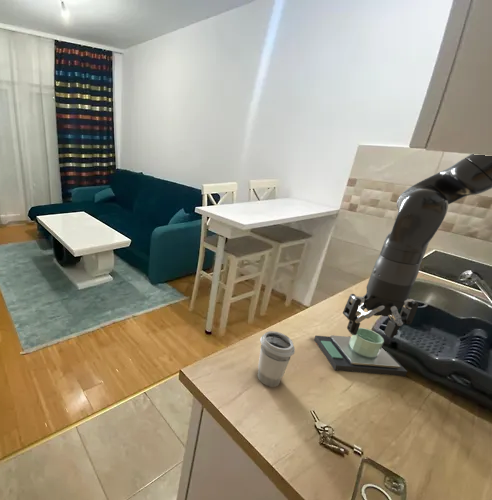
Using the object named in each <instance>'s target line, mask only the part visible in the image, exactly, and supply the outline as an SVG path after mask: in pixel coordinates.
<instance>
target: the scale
mask: <svg viewBox="0 0 492 500" xmlns="http://www.w3.org/2000/svg"><path fill="white" fill-rule="evenodd" d="M313 341H314V343H315V344H316V345H317V347H318V348H319V350H320V351H321V353H322V354H323V355H324V357H325V359H327V361H328V363H329V364H330V365H331V367H332V369H333V370H334V371H339V372H349V373H350V372H351V373H361V374H362V373H363V374H373V375H375V374H376V375H385V376H386V375H387V376H398V377H406V375H407V373H408V370H407V369H406V368H405V367H404V366H403V365H402V364H401V363H400V361H398V360H397V359H396V358H395V357H394V356H393V355H392V354H391V353H390V352H389V351H388V350H387V351H388V352H387V351H386V352H387V353H388V354H389V355H390V356H391V357H392V358H393V359H394V360H395V361H396V362H397V363H398V364H399V366H400V368H390V367H378V366H367V365H355V364H351V363H350V362H349V361H348V359H347V358H346V357H345V356H344V354H343V353H342V352H341V350H340V349H339V348H338V347H337V345H336V344H335V343H334V342H333V340H332V339H331V338H330V336H328V335H327V336H326V335H314V338H313Z"/></svg>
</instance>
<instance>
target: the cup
mask: <svg viewBox="0 0 492 500" xmlns="http://www.w3.org/2000/svg"><path fill="white" fill-rule="evenodd" d="M259 342H260V350H259V356H258V357H259V358H258V363H257V378H258V380H259V382H260V383H262V384H263V385H264V386H267V387H269V388H275V387H278V386H280V383H281V380H282V379H283V377H284V374H285V371H286V370H287V367H288V365H289V362H290V360H291V357H292V356H293V355H295V352H296V350H295V346H294V342H293V340H292V339H291V338H290V337H289V336H288V335H286V334H284V333H283V332H278V331H271V330H269V331H267V332H265V333H264V334H263V335H261V337H260V339H259Z"/></svg>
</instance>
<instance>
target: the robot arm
mask: <svg viewBox="0 0 492 500" xmlns="http://www.w3.org/2000/svg"><path fill="white" fill-rule="evenodd" d="M490 190H492V156H485V155H474V154H472V153H470V154H469V155H467V156H466V157H464V158H462V159H461V160H458V161H457V162H456V163H454V164H453V165H450V166H449V167H448V168H446V169H443V170H441V171H438V172H437V173H434V174H433V175H431V176H429V177H427V178H424V179H422V180H420V181H419V182H417V183H415V184H413V185H411V186H410V187H408V188H407V189H406V190H404V191H403V192H402V193H400V194H399V196H398V198H397V200H396V208H397V214H396V218H395V221H394V223H393V226H392V229H391V230H390V231H389V232H388V233H387V235H386V237H385V239H384V242H383V245H382V246H381V250H380V253H379V254H378V257H377V259H376V260H375V263H374V265H373V268H372V270H371V273H370V276H369V280H368V282H367V284H366V293H365V294H364V295H363V296H358V295H356V294H355V293H351V294H350V295H348V299H347V301H346V304H345V306H344V309H343V311H342V314H343V316H344V317H345V318H346V319H347V320H348V324H347V326H346V329H347V331H348V332H349V333H350V335H351V336H352V335H356V334H357V331H358V329H359V328H360V326H361V322H362V321H364V320H366V319H370V318H372V317H373V316H374V317H380V316H382V317H389V319H390V320H388V321H387V324H386V325H385V328H384V330H383V333H384V335H385V336H386V337H387V338H389V339H393V338H394V337H395V336H396V335H397V334H398V331H399V329H400V327H402V326H403V325H404V324H407V325H411V324H412V323H413V322H414V319H415V316H416V313H417V310H418V308H419V303H418V302H417V301H416V300H414V299H413V298H411V297H410V294H411V292H412V290H413V288H414V285H415V283H416V280H417V277H418V275H419V272H420V269H421V264H422V262H423V260H424V257H425V254H426V252H427V249H428V247H429V243H430V242H431V240H432V239H433V238H434V236H435V235H436V234H437V232H438V230H439V229H440V227H441V225H442V223H443V222H444V220H445V218H446V216H447V213H448V209H449V205H451V204H453V203H455V202H457V201H459V200H461V199H463V198H465V197H468V196H473V195H480V194H482V193H486V192H488V191H490ZM365 309H366V311H365ZM400 309H401V310H400ZM399 310H400V312H399Z"/></svg>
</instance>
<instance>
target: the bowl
mask: <svg viewBox="0 0 492 500" xmlns="http://www.w3.org/2000/svg"><path fill="white" fill-rule="evenodd" d="M350 337H351V339H350V342H349V344H350V346H351V348H352V349H353V350H354V351H355V352H357V353H358V354H360V355H363V356H366V357H375V356H377V355H378V354H379V352H380V350H381V348H382V346H383V345H384V343H385V339H384V337H383V336H382V335H381V334H379V333H377V332H376V331H374V330H372V329H369V328H364V327H359V329H358V331H357V334H356V335H352V334H351V336H350Z"/></svg>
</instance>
